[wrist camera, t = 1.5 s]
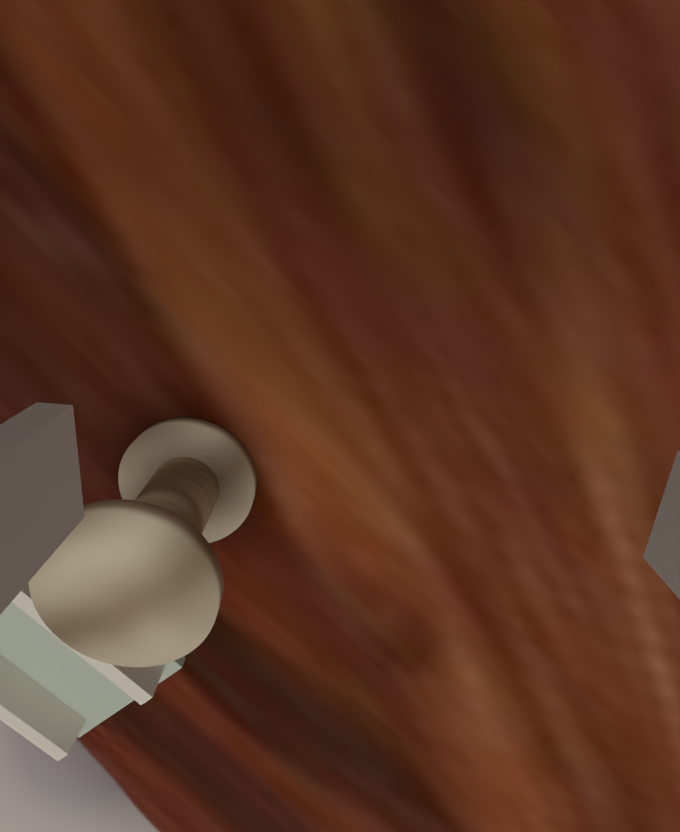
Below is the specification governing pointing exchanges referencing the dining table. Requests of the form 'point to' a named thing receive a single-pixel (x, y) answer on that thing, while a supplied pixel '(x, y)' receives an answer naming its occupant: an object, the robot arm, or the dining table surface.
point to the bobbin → (150, 549)
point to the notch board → (61, 682)
